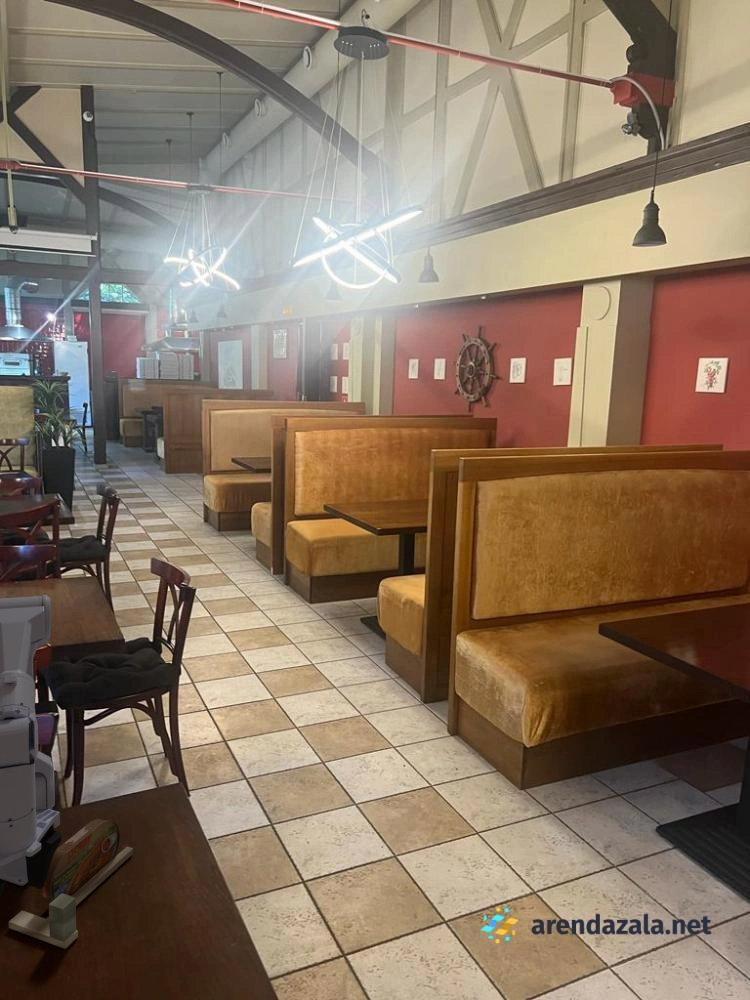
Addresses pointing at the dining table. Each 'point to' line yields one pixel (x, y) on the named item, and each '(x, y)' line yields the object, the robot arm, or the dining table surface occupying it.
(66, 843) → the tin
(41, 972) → the dining table surface
